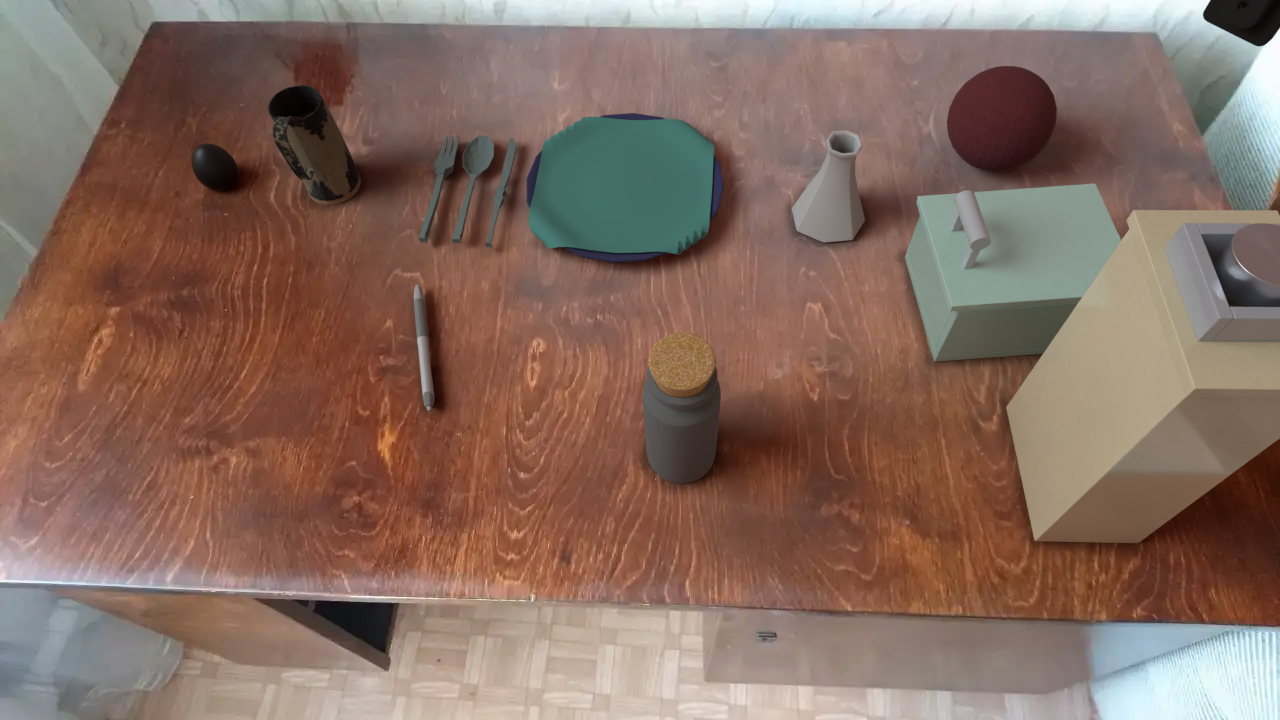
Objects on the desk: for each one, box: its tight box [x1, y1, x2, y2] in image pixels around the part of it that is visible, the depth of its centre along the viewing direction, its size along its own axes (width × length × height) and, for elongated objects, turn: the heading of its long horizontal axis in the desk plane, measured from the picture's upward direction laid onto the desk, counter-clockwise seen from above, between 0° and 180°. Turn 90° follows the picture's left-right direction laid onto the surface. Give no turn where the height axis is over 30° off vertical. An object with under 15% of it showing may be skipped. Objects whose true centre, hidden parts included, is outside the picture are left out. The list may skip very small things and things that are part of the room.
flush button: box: [1212, 223, 1280, 307], centre depth 47 cm, size 4×4×2 cm
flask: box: [791, 129, 866, 243], centre depth 82 cm, size 7×7×10 cm
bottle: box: [642, 332, 722, 484], centre depth 67 cm, size 6×6×15 cm
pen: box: [413, 283, 435, 413], centre depth 79 cm, size 1×14×1 cm, turn 12°
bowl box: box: [904, 215, 1079, 363], centre depth 76 cm, size 15×12×8 cm
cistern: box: [1005, 209, 1280, 544], centre depth 59 cm, size 9×13×27 cm
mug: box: [267, 84, 362, 206], centre depth 85 cm, size 8×6×12 cm
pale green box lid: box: [916, 182, 1122, 311], centre depth 71 cm, size 16×12×5 cm
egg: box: [191, 142, 239, 192], centre depth 89 cm, size 4×4×5 cm
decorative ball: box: [946, 65, 1058, 172], centre depth 85 cm, size 10×10×10 cm
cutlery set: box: [418, 112, 725, 264], centre depth 87 cm, size 20×30×2 cm, turn 85°
